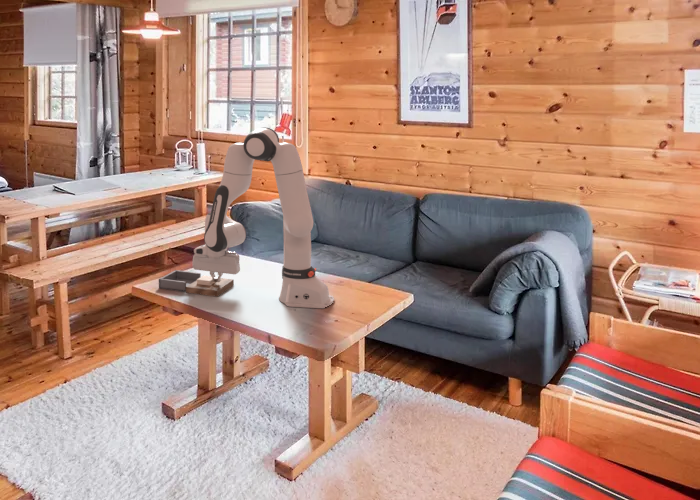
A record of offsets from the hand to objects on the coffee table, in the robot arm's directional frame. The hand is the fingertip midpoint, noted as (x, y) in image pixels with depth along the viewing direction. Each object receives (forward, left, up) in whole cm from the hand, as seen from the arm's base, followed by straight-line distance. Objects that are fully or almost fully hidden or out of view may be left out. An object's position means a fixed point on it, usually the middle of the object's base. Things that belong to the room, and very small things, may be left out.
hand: (216, 281), depth 268 cm
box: (+17, 0, -4) cm, 17 cm away
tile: (+4, 0, -1) cm, 5 cm away
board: (+3, 0, -4) cm, 5 cm away
